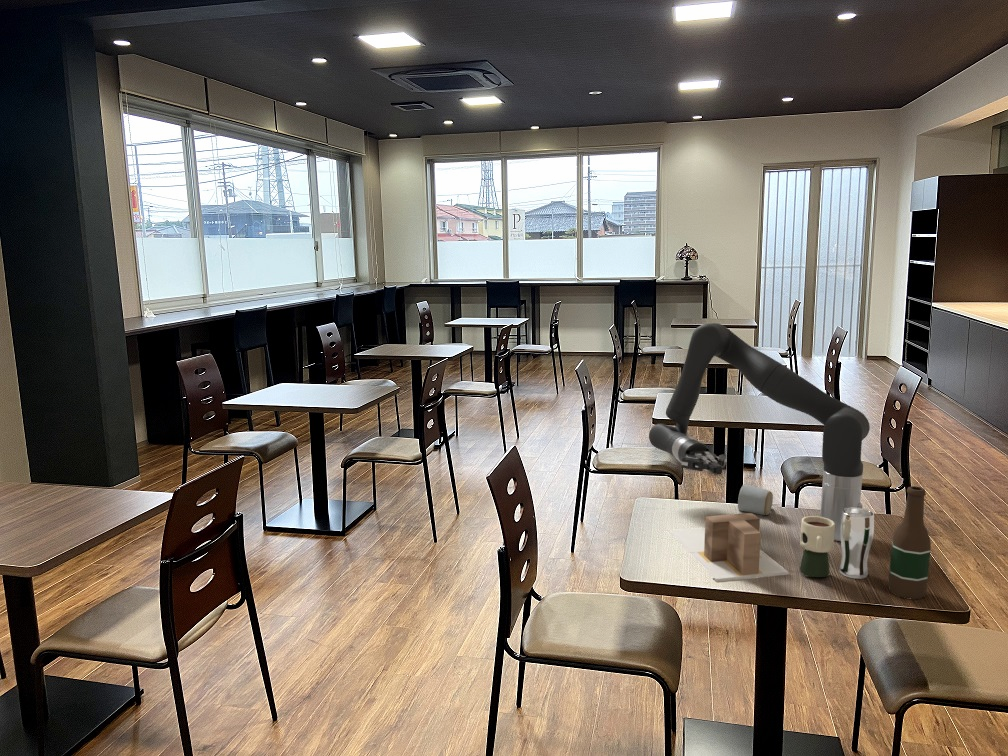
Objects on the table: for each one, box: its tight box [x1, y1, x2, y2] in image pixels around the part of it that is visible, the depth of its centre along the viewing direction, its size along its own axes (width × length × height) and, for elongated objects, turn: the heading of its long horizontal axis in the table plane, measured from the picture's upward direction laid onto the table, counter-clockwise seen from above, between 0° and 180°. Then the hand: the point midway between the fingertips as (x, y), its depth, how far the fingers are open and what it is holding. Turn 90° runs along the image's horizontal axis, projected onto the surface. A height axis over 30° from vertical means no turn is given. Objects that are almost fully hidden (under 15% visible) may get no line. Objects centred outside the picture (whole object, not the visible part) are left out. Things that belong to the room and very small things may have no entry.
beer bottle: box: [888, 485, 932, 600], centre depth 166 cm, size 8×8×24 cm
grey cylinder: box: [737, 483, 774, 516], centre depth 217 cm, size 11×8×8 cm
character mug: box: [799, 515, 835, 578], centre depth 176 cm, size 11×7×13 cm, turn 162°
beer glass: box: [838, 507, 875, 580], centre depth 176 cm, size 7×7×15 cm
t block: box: [704, 512, 762, 575], centre depth 181 cm, size 12×12×10 cm
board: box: [667, 526, 789, 582], centre depth 190 cm, size 29×18×1 cm, turn 10°
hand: (719, 470), depth 191 cm, fingers closed
